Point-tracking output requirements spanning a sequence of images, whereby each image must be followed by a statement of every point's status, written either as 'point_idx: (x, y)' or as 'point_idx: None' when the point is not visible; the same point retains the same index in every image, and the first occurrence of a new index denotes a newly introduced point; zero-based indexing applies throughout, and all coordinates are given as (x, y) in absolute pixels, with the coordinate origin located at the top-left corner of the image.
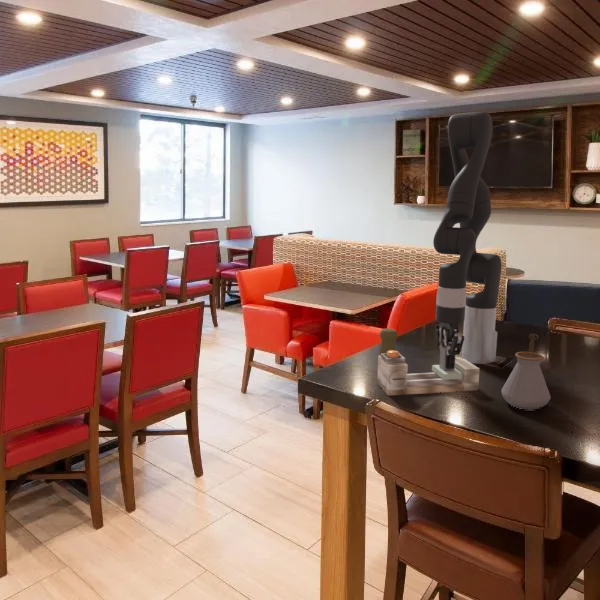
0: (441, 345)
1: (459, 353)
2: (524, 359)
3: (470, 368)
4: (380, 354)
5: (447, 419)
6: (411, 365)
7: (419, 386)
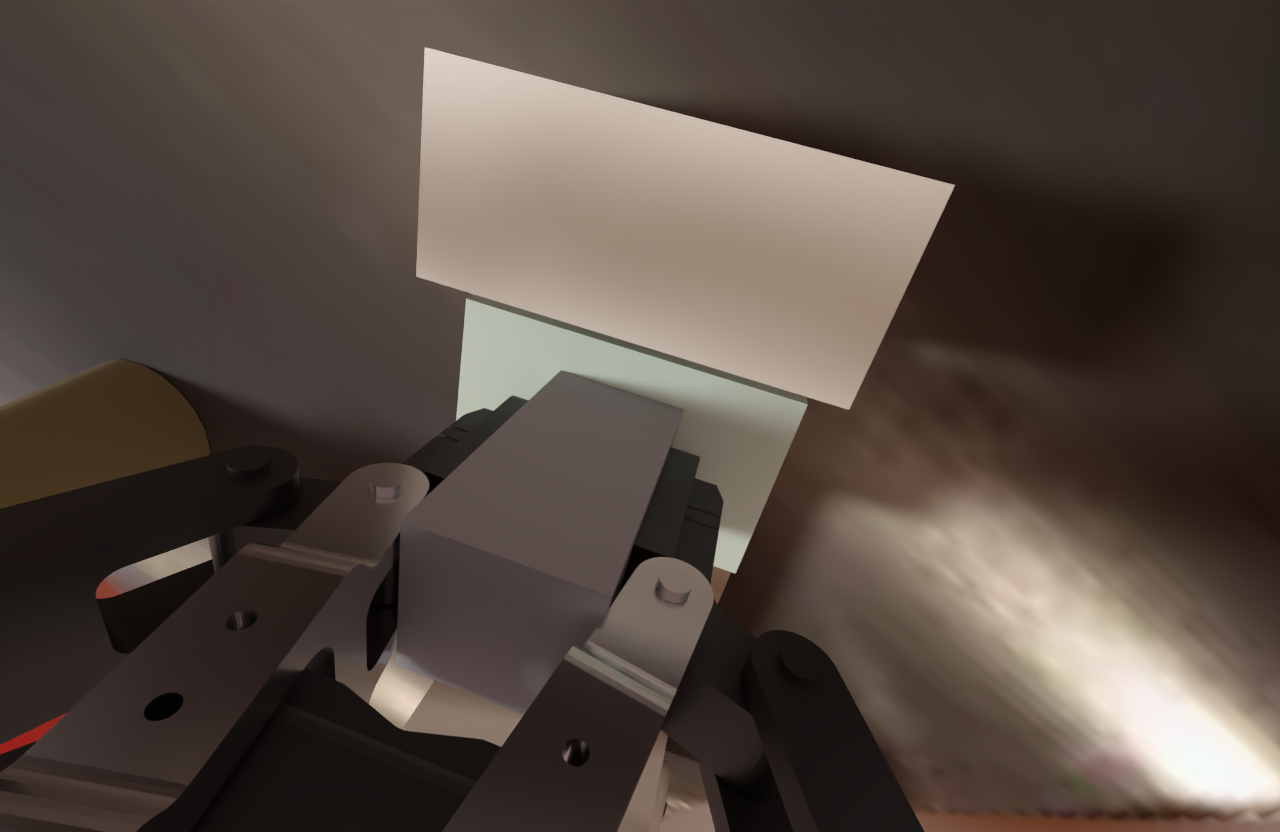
0: (383, 661)
1: (838, 684)
2: None
3: (859, 317)
4: None
5: (1159, 782)
6: (160, 285)
7: None
